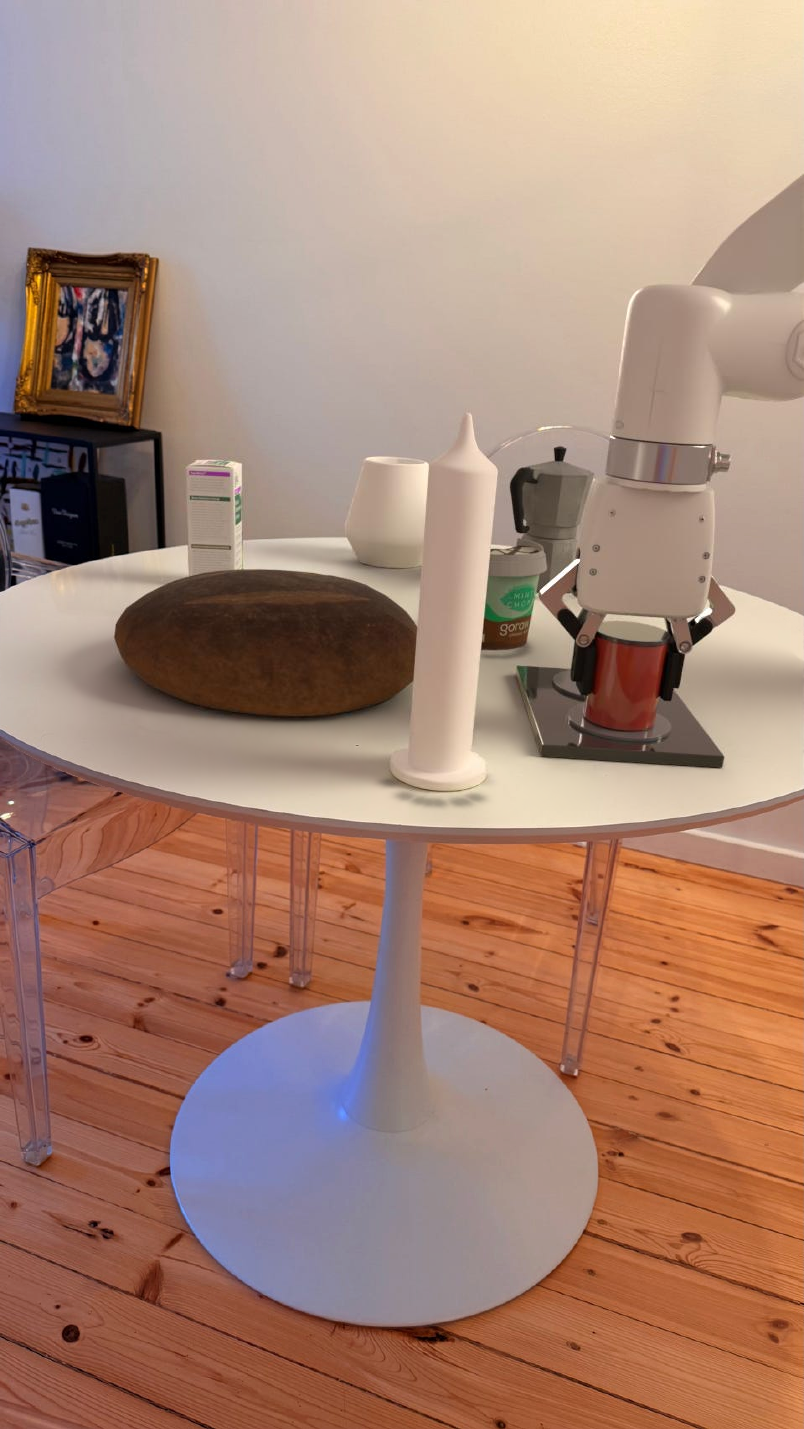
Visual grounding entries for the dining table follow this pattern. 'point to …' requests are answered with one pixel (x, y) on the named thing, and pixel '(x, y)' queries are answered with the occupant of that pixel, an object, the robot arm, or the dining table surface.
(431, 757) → the candle
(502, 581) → the food container
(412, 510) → the white vase
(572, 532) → the coffeepot
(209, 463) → the syrup box
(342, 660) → the bread
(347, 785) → the dining table surface
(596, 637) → the red canister
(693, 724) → the hob
